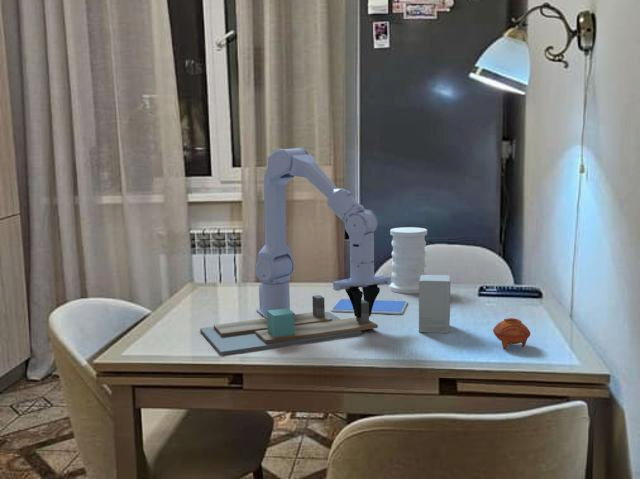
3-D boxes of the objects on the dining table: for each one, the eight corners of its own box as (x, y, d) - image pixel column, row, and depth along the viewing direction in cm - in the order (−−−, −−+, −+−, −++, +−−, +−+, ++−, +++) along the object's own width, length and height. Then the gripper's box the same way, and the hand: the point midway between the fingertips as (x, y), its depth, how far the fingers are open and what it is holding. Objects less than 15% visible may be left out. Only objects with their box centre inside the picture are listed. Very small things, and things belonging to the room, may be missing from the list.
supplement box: (449, 333, 165) (450, 281, 162) (418, 332, 166) (418, 280, 164) (450, 325, 172) (450, 274, 170) (419, 323, 173) (420, 274, 171)
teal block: (267, 331, 164) (266, 310, 163) (287, 328, 166) (287, 308, 165) (274, 337, 159) (273, 315, 158) (295, 334, 161) (294, 313, 160)
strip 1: (213, 328, 170) (212, 305, 169) (320, 314, 180) (319, 292, 180) (222, 336, 163) (220, 312, 162) (332, 322, 173) (332, 299, 172)
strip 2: (255, 334, 164) (254, 310, 163) (362, 319, 175) (362, 297, 174) (266, 343, 157) (265, 318, 156) (377, 327, 167) (377, 304, 166)
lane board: (200, 331, 170) (200, 328, 170) (328, 314, 183) (328, 311, 183) (220, 355, 152) (220, 351, 152) (361, 335, 165) (361, 331, 165)
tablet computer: (329, 314, 186) (329, 309, 186) (339, 302, 198) (339, 297, 198) (402, 317, 182) (402, 312, 181) (408, 305, 194) (408, 300, 193)
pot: (483, 342, 156) (489, 313, 156) (511, 346, 159) (517, 317, 159) (504, 351, 149) (511, 320, 149) (534, 355, 152) (540, 325, 152)
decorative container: (387, 293, 205) (387, 232, 203) (390, 284, 217) (390, 226, 214) (427, 294, 203) (428, 232, 201) (428, 285, 215) (428, 227, 212)
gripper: (341, 267, 161) (342, 323, 164) (396, 261, 167) (396, 316, 169) (329, 261, 168) (330, 316, 170) (383, 256, 173) (383, 309, 175)
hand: (362, 316), depth 170 cm, fingers closed on strip 2, 2 cm apart
